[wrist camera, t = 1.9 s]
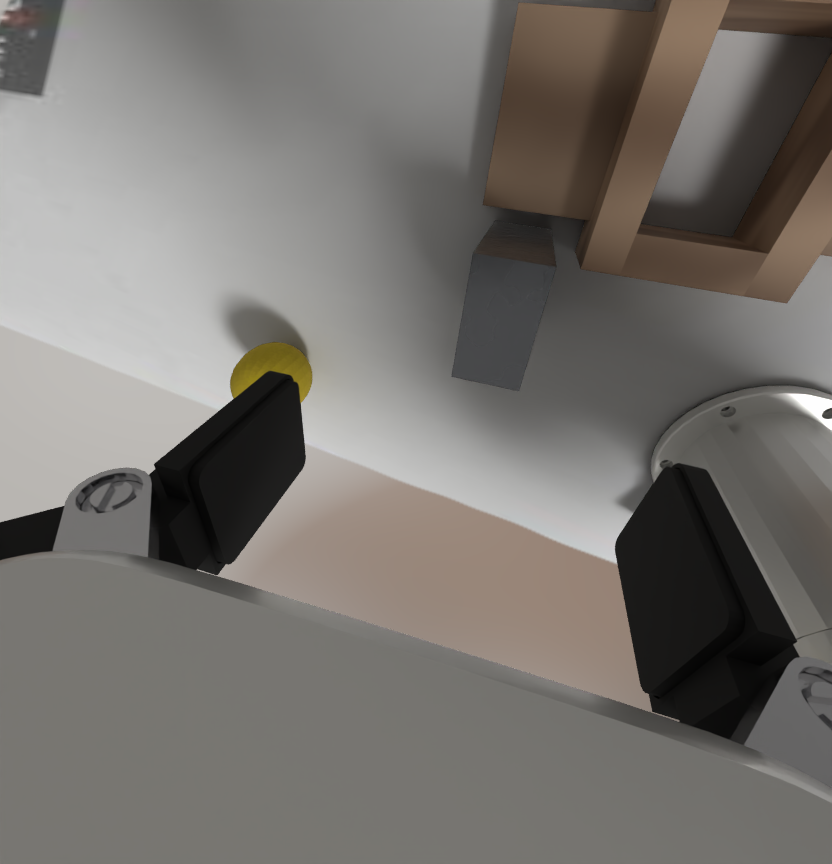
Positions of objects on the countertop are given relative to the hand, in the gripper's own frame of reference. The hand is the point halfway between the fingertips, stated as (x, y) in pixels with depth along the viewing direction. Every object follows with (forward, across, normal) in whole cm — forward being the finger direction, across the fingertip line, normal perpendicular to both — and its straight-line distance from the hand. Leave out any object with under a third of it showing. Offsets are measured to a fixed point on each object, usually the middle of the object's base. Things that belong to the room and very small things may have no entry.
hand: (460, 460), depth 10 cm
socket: (+20, -9, -8) cm, 23 cm away
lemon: (+20, +16, +10) cm, 28 cm away
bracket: (+20, 0, 0) cm, 20 cm away
